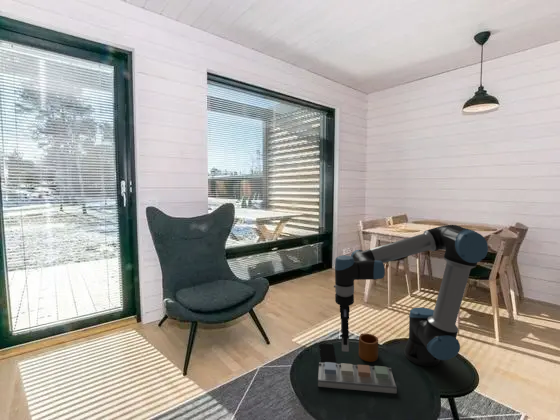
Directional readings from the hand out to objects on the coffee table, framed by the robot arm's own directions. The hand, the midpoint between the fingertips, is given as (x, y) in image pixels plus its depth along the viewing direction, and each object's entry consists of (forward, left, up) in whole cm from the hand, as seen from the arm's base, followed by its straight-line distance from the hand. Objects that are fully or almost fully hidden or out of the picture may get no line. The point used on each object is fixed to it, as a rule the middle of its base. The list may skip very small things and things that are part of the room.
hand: (344, 341), depth 128 cm
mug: (-11, -18, -17) cm, 28 cm away
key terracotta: (-8, +1, -13) cm, 16 cm away
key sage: (-15, +1, -13) cm, 20 cm away
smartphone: (+8, -16, -17) cm, 25 cm away
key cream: (-1, +1, -13) cm, 13 cm away
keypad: (-4, +1, -17) cm, 18 cm away
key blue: (+6, +1, -13) cm, 15 cm away
